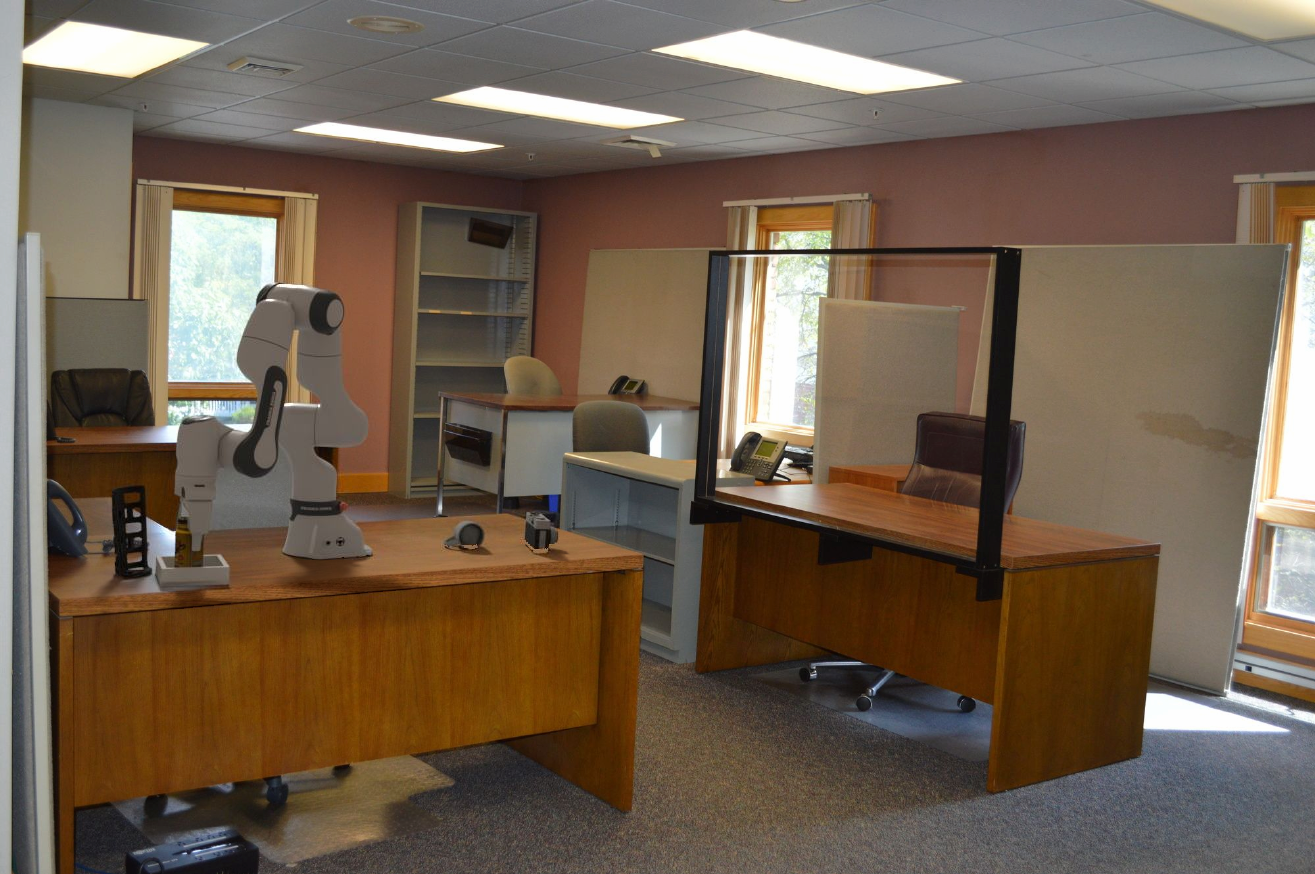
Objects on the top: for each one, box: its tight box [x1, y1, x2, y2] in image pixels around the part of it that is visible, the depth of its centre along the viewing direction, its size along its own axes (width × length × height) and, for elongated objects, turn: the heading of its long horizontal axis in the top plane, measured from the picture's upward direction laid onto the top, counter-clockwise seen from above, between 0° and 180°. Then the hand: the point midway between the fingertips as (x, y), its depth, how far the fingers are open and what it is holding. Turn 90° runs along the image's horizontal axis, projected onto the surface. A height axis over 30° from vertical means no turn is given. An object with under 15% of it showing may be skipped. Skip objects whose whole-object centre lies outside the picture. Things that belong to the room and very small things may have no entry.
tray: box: [155, 554, 231, 588], centre depth 257 cm, size 14×14×4 cm
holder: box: [110, 484, 153, 580], centre depth 257 cm, size 11×8×20 cm
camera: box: [524, 511, 559, 549], centre depth 324 cm, size 14×8×10 cm, turn 18°
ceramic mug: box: [443, 520, 485, 548], centre depth 318 cm, size 11×8×8 cm
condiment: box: [174, 516, 209, 568], centre depth 257 cm, size 7×8×12 cm
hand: (193, 547), depth 257 cm, fingers closed on condiment, 6 cm apart
